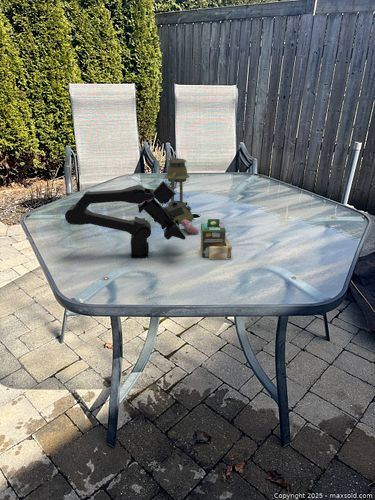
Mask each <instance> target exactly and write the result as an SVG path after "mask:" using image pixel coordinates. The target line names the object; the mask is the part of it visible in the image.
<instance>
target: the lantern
mask: <svg viewBox="0 0 375 500" xmlns="http://www.w3.org/2000/svg"><path fill="white" fill-rule="evenodd" d="M167 162H168V163H169V164H168V167H167V169H166V174H165V175H164V178H165V180H167V181H168V183H169V182H170V184H169V186H170V187H171V188H172V189H173V190H174V191H175V192H176V194H179V200H175V195H174V196H173V197H172V198H171V199H170V200H169V201H168V202H167V203H166V204H165V207H166V208H167V209H169V208H170V207H172V202H175V201H176V202H177V203H178V204H179V203H181V205H182V207H183V209H184V212H185V213H184V214H183V215H179V216H177V217H175V218H174V219H175V220H174V221H176V220H177V219H178V222H179V225H181V224H182V223H181V221H182V220H185V219H186V220H189V221H191V222H193V221H194V219H195V218H194V216H193V213H192V208H191V207H190V206H189V205H188V202H187V201H185V200H186V198H185V199H183V198H184V197H183V196H185V197H187V198H189V196H187V195H185V194H183V192H184V191H183V186H184V183H186V182H187V183H189V180H188V179H189V178H190V177H191V176H190V175H189V174H188V170H187V166H186V163H187V160H185V159H184V158H179V157H178V158H177V157H171V158H168V159H167ZM177 184H179V185H177ZM176 185H177V186H176ZM177 187H179V192H178V191H176V190H175V189H176V188H177ZM163 205H164V204H161V206H162V207H164V206H163ZM192 220H193V221H192Z"/></svg>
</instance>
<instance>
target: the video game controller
mask: <svg viewBox="0 0 375 500" xmlns="http://www.w3.org/2000/svg"><path fill="white" fill-rule="evenodd" d="M181 223H182V224H180V225H181V227H184V229H185V231H186V230H187V231H186V232H187V233H188V234H193V235H196V234H197V235H198V234H200V233H199V230H198V229H197V228H196V227H194V226H193V224H192V222H190V221H189V220H186V219H185V220H182V221H181Z"/></svg>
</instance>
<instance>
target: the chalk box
mask: <svg viewBox="0 0 375 500" xmlns="http://www.w3.org/2000/svg"><path fill="white" fill-rule="evenodd" d="M226 231H227V229H226V227H225V224H224V222H221V221H220V218H209V219H207V222H202V223H200V252H201V256H202V258H209V246H225V236H226Z"/></svg>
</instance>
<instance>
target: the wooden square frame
mask: <svg viewBox="0 0 375 500" xmlns="http://www.w3.org/2000/svg"><path fill="white" fill-rule="evenodd" d="M232 251H233V249H232V246H231V244H230V241H229V240H228V238H227V236H226V235H225V246H209V257H208V260H209V259H218V260H226V259H225V258H231V259H232Z"/></svg>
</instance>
